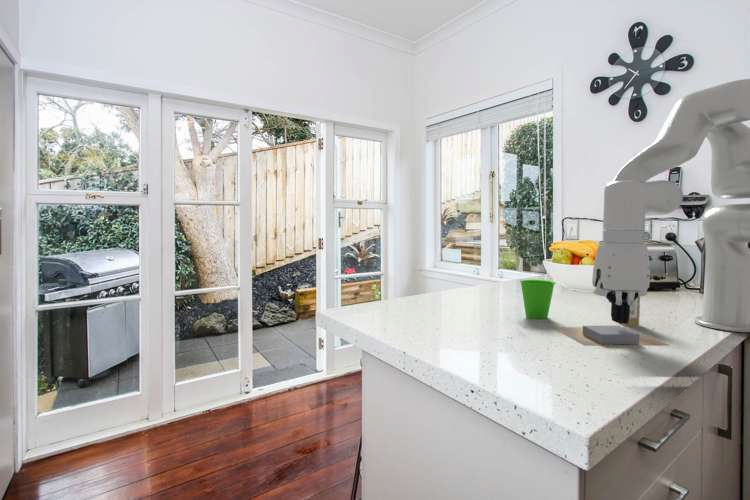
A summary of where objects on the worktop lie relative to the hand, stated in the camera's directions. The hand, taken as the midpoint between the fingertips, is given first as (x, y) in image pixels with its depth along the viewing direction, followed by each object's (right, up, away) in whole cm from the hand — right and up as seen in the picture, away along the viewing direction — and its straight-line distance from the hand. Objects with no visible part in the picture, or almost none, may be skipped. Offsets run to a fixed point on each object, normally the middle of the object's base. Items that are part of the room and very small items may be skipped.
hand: (619, 321), depth 81 cm
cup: (-9, -4, +21) cm, 23 cm away
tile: (+2, -3, 0) cm, 3 cm away
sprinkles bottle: (+11, -5, +13) cm, 18 cm away
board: (-1, -5, +3) cm, 6 cm away
